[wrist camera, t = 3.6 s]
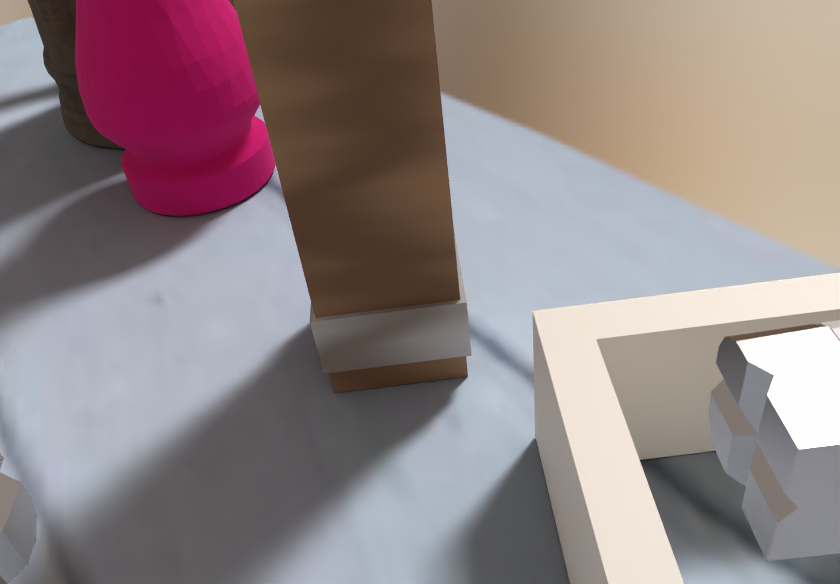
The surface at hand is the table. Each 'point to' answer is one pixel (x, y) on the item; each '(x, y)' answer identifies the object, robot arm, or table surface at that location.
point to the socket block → (640, 408)
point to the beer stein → (66, 64)
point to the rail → (364, 182)
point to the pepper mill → (174, 100)
